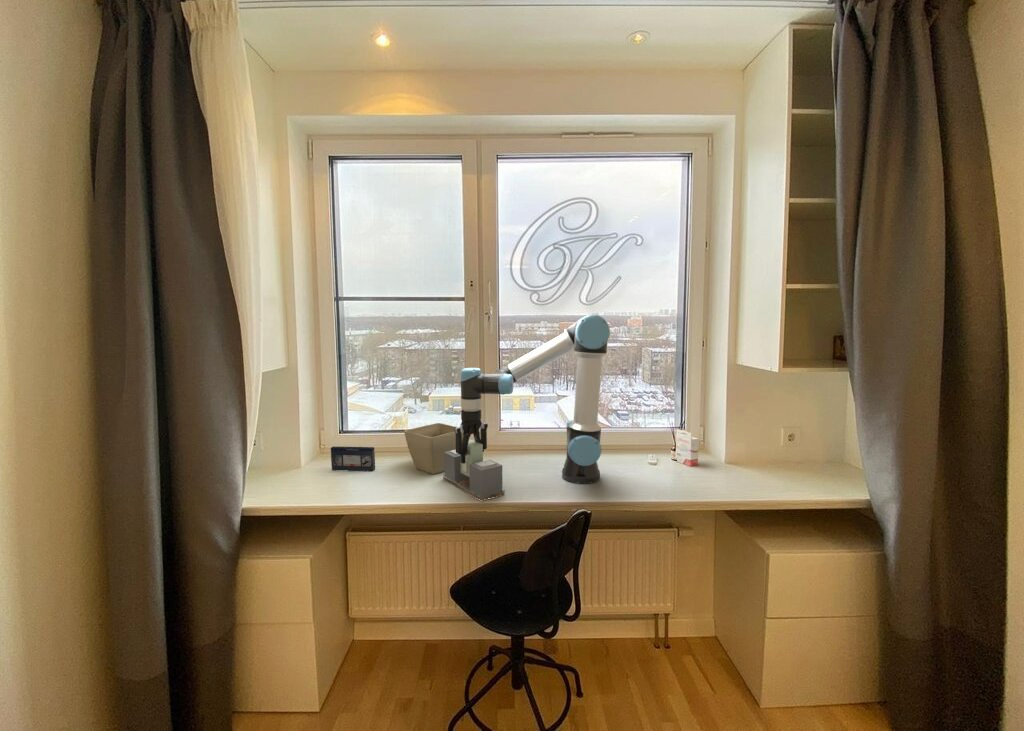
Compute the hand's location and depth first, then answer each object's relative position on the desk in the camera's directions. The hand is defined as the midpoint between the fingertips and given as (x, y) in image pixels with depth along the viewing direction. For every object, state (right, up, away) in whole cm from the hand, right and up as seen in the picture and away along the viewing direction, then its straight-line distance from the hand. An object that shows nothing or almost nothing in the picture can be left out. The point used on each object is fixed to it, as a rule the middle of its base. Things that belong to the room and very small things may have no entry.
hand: (471, 469), depth 171 cm
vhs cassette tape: (-52, -5, +20) cm, 56 cm away
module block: (0, -2, 0) cm, 2 cm away
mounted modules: (0, -6, +1) cm, 6 cm away
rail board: (0, -7, +1) cm, 7 cm away
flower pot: (-17, -5, +22) cm, 29 cm away
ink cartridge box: (+92, -4, +27) cm, 96 cm away
